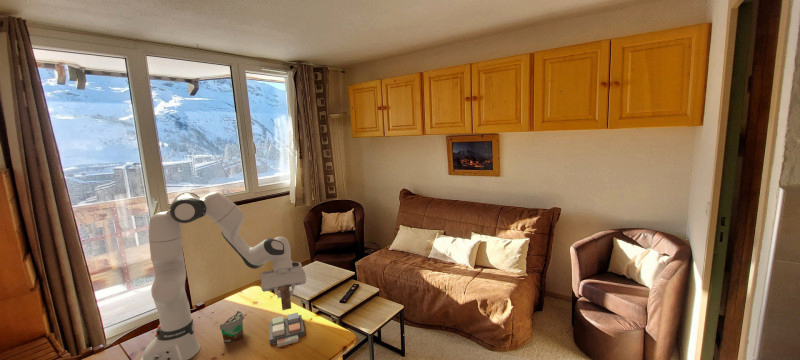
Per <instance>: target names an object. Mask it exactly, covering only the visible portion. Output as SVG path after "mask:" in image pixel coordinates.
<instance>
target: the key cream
mask: <svg viewBox="0 0 800 360" xmlns="http://www.w3.org/2000/svg"><path fill="white" fill-rule="evenodd" d="M283 334H285V330H284V323H283V324H279V325H275V326H273V337H275V336H279V335H283Z"/></svg>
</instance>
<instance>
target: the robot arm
mask: <svg viewBox="0 0 800 360" xmlns="http://www.w3.org/2000/svg"><path fill="white" fill-rule="evenodd" d="M204 216H206V217H208V218H210V219H211V220H212V221H213V222H214V223H215V224H217V226H218V227H219V228H220V230H221V235H222V237H223V239H224V240H225V241H226V242H227V243H228V245H230V246H231V248H232V249H233V250H234V252H235V253H237V255H239V257H240V258H241V259H242V261H243V263H244V265H246V266H247V267H248V268H250V269H253V270H257V269H259V268H261V267H262V266H263V265H265V264H266V263H268V262H269V261H272V268H273V270H272V269H270V270H267V271H263V272H262V273H261V274H260V275H259V279H260V281H261V284H260V286H261V292H262V291H263V293H265V292H269V291H274V293H275V294H276V295H277V296H276V297H277V299H281V293H280V292H279V291H278V290H280V287H281V286H286V285H289V288H290V287H291V289H290V297H291V296H293V295H294V291H295V289H296V286H301V285H305V284H306V282H307V275H306V271H305V269H304V268H303V265H302V262H300V261H293V260H292V257H291V256H292V255H291V254H292V253H291V252H292V251H291V250H292V249H291V246H290V242H289V239H288V238H286V237H284V236H276V237H274V238H270V237H269V238H268V237H267V238H266V239H264V240H262V241H261V242H259V243H258V244H256V245H255V246H250V245H249V244H248V243H247V242H246V241H245V240H244V239H243V237H242V236H241V235H240V229H241V227H242V225H243V224H244V223H245V222H244V221H245V215H244V212H243V211H242V209H241V208H240V207H239V206H238V205H237V204H236V203H234V202H233V201H232V200H231V199H229V198H228V197H226V196H225V195H224V194H223V193H222V194H221V193H220V192H218V191H213V192H210V193H207V194H206V195H204V196H203V197H200V196H198V195H197V194H196V193H193V192H189V191H188V192H182V193H180V194H179V195H177V196H176V197H175V198H174V199H173V200H172V202H171V205H170V207H169V209H168V210H166V211H161V212H157V213H155V214H154V215H152V216H151V217H150V219H149V226H148V242H149V252H150V254H149V255H150V259H151V262H152V266H153V270H154V281H153V283H152V284H151V289H150V290H151V296H152V299H153V302H154V305H155V307H156V310H157V314H158V319H159V325H158V326H157V327H156V331H155V334H154V335H155V336H154V337H155V338H154V339H152V340H151V341H150V343H148V344H147V346H146V347H145V349H144V350H143V355H142V357H141V358H140V360H190V359H191V358H193V357H194V356H196V354H197V353H198V352H199V351H200V349H201V345H200V343H199V341H198V339H197V337H196V334H195V323H194V319H193V318H192V313H191V307H190V306H191V305H190V302H189V299H188V296H187V292H186V280H187V267H186V262H185V256H184V250H183V249H184V248H183V247H184V246H183V241H182V240H183V239H182V238H183V237H182V225H183V224H188V223H192V222H195V221H197V220H199V219H200V218H203V217H204Z"/></svg>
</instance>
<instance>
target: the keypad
mask: <svg viewBox="0 0 800 360" xmlns="http://www.w3.org/2000/svg"><path fill="white" fill-rule="evenodd" d="M298 315H299V322H298V323H300V329H301V330H300V331H296V332H292V333H289V324H288V317H286V318H284V330H285V334H283V335H279V336H275V337H273V324H272V321H270V322H269V345H271V346H272V345H277V348H279V347H283V346H287V345H290V344H293V343H297V342H299V338H301V337H305V335H306V334H305V327H304V322H303V317H302V314H298ZM294 324H295V323H294ZM290 325H291V324H290Z"/></svg>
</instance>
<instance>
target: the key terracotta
mask: <svg viewBox="0 0 800 360" xmlns="http://www.w3.org/2000/svg"><path fill="white" fill-rule="evenodd" d="M300 330H301V329H300V323H295V324H291V325H289V333H292V332H296V331H300Z"/></svg>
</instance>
